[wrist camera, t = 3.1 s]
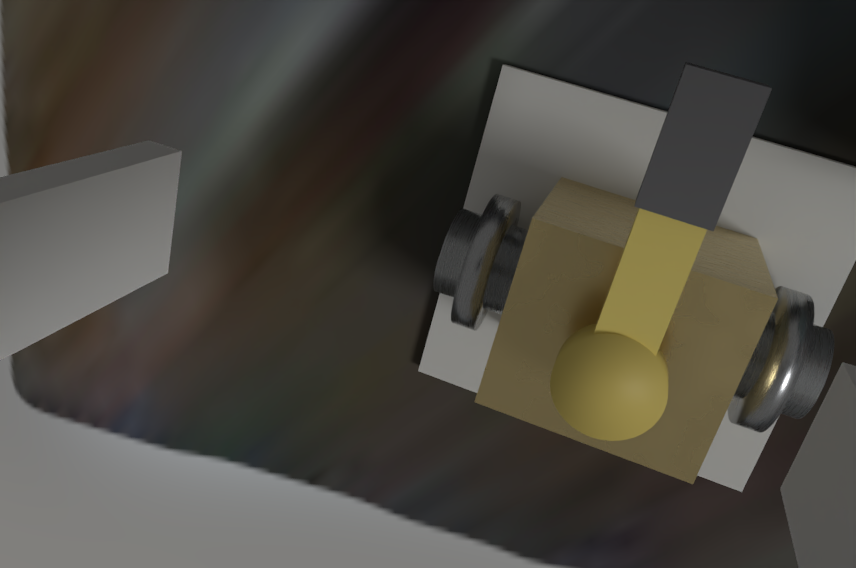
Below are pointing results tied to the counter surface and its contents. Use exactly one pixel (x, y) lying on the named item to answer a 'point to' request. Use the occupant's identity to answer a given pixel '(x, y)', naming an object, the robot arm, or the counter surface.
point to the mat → (623, 174)
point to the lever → (658, 258)
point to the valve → (581, 306)
